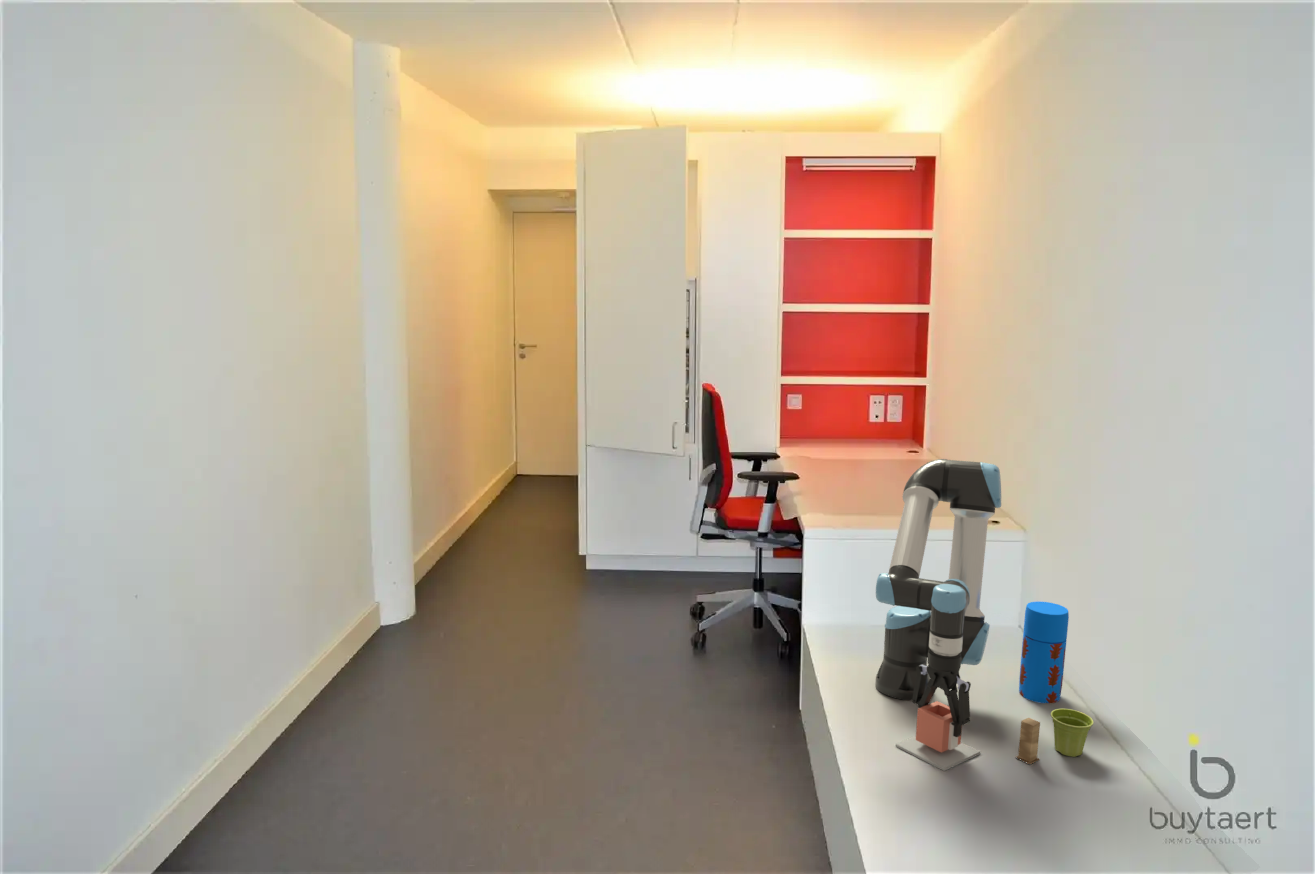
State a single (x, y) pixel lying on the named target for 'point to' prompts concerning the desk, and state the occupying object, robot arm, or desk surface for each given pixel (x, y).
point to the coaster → (938, 753)
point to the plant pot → (1070, 731)
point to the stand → (1029, 740)
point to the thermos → (1043, 652)
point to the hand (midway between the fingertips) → (938, 740)
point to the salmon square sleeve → (934, 726)
